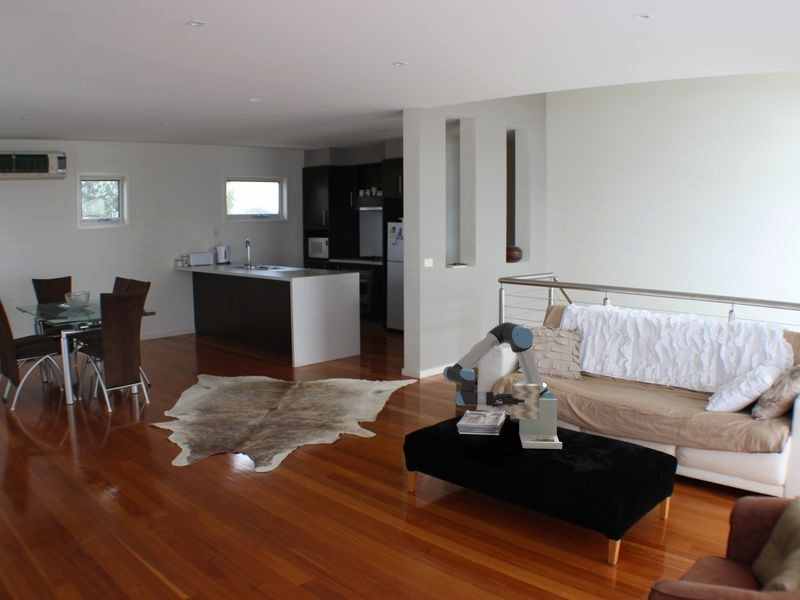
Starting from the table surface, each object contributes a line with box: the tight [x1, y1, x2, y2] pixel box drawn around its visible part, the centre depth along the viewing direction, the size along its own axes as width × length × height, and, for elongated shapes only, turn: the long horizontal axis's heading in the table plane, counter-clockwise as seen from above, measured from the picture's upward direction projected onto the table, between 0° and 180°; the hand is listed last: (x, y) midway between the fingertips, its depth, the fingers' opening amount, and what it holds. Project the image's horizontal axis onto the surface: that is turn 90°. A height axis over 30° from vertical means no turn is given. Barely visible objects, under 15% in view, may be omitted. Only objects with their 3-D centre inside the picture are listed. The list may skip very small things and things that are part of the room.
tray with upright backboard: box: [518, 398, 563, 450], centre depth 380 cm, size 20×22×21 cm
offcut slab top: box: [536, 437, 555, 442], centre depth 374 cm, size 9×3×2 cm, turn 86°
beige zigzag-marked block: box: [510, 383, 540, 419], centre depth 376 cm, size 14×4×18 cm, turn 86°
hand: (530, 399), depth 376 cm, fingers closed on beige zigzag-marked block, 4 cm apart
